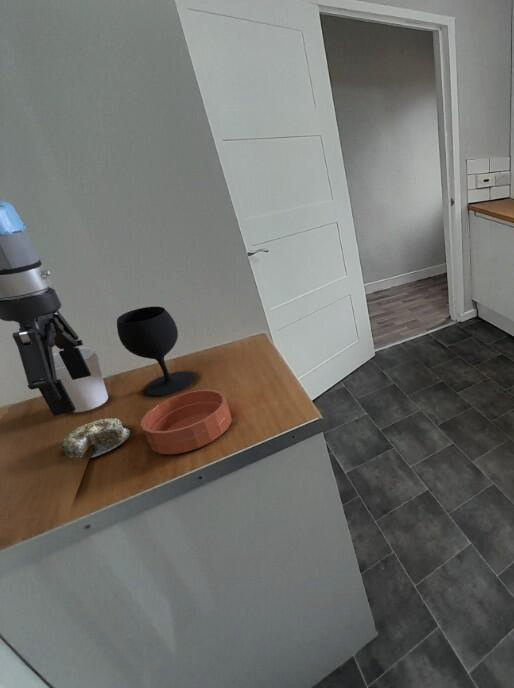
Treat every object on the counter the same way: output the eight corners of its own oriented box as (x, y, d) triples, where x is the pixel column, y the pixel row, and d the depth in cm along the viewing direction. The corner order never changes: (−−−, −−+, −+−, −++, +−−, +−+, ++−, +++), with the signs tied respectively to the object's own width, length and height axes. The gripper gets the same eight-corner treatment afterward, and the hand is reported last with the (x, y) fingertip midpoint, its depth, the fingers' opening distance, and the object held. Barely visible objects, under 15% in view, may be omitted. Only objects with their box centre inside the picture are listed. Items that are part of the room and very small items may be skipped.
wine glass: (193, 368, 110) (168, 301, 102) (197, 386, 103) (170, 316, 94) (144, 382, 104) (112, 312, 96) (144, 403, 97) (110, 329, 88)
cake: (55, 455, 82) (42, 434, 80) (116, 424, 91) (105, 404, 88) (79, 468, 78) (66, 446, 76) (140, 435, 87) (130, 414, 85)
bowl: (147, 466, 79) (136, 442, 77) (154, 425, 90) (145, 403, 87) (233, 438, 87) (226, 415, 84) (230, 403, 97) (223, 382, 95)
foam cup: (59, 424, 90) (30, 375, 84) (64, 403, 96) (38, 356, 91) (116, 406, 95) (93, 360, 90) (118, 387, 102) (96, 343, 96)
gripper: (30, 313, 63) (86, 422, 72) (70, 269, 82) (111, 359, 91) (-45, 325, 59) (24, 438, 68) (15, 276, 78) (63, 370, 87)
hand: (74, 393), depth 79 cm, fingers open, 13 cm apart
